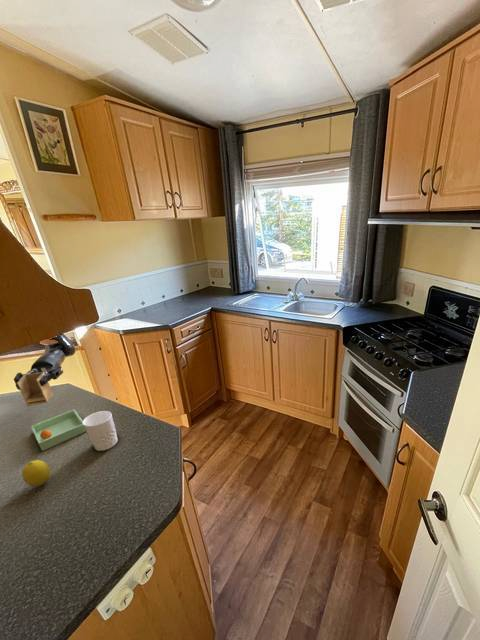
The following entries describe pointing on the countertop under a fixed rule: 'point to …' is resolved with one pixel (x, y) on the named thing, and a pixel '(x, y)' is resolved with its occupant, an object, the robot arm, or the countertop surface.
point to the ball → (45, 434)
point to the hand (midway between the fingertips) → (30, 385)
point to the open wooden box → (34, 389)
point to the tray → (59, 429)
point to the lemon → (36, 473)
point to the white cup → (101, 430)
